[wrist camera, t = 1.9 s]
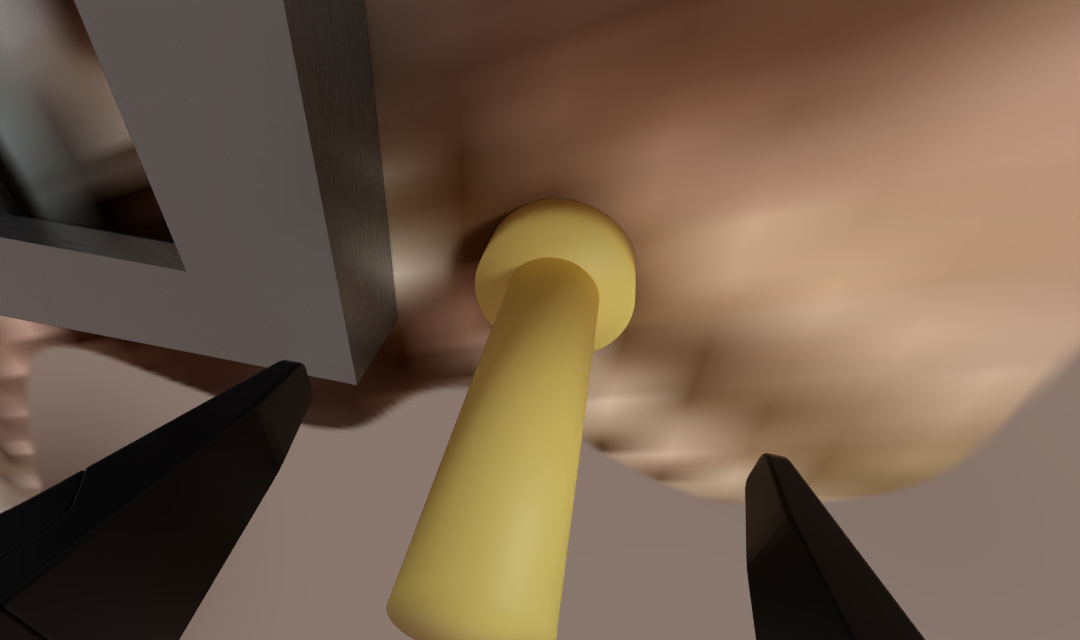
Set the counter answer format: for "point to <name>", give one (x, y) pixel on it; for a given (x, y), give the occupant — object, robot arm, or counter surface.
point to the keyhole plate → (229, 190)
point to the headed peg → (518, 431)
